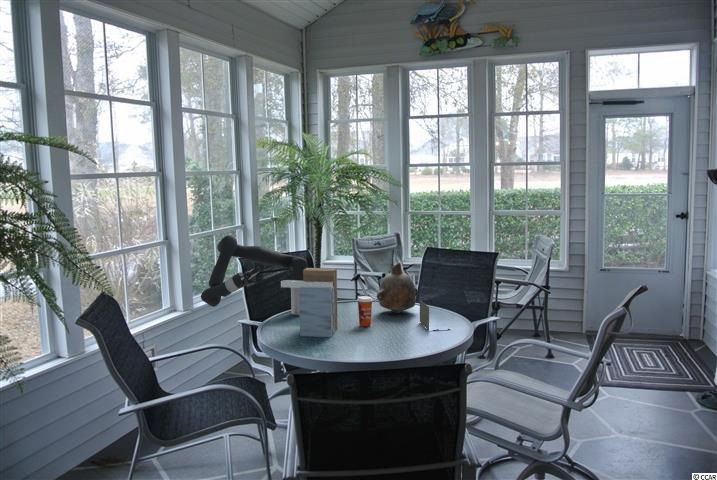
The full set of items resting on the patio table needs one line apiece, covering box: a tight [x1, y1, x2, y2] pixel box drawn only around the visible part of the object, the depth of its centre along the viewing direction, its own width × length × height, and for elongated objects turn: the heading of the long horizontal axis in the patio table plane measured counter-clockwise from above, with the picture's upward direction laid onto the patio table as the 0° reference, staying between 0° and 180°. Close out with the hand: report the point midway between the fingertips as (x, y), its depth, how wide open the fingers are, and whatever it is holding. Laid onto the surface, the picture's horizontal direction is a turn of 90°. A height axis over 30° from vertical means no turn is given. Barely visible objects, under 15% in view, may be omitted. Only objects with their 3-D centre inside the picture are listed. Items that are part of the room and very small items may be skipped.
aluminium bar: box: [280, 279, 333, 289], centre depth 286 cm, size 4×26×3 cm, turn 80°
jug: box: [376, 262, 418, 314], centre depth 330 cm, size 24×21×30 cm
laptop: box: [419, 299, 430, 331], centre depth 301 cm, size 18×12×13 cm
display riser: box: [299, 267, 339, 338], centre depth 290 cm, size 15×16×32 cm
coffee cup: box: [356, 295, 373, 327], centre depth 304 cm, size 8×8×15 cm
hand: (261, 267), depth 292 cm, fingers open, 8 cm apart
